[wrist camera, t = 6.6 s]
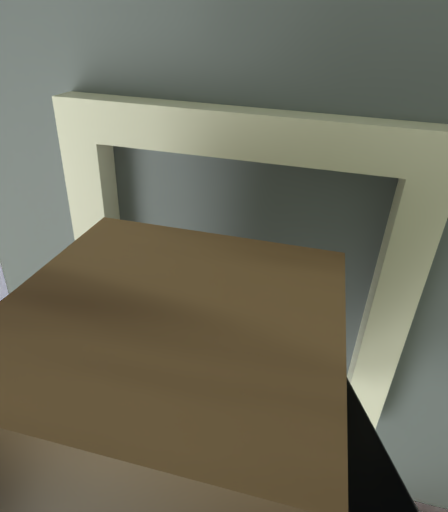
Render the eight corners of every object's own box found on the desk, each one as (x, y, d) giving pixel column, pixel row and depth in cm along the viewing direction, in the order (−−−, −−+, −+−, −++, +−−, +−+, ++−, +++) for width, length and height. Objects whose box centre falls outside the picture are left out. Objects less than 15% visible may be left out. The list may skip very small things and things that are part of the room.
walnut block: (307, 426, 10) (283, 706, 6) (123, 383, 11) (-9, 600, 7) (344, 252, 8) (347, 521, 4) (104, 217, 9) (-117, 396, 5)
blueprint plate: (446, 478, 15) (460, 535, 13) (55, 384, 18) (26, 421, 16) (737, -80, 7) (861, -112, 5) (-51, -79, 10) (-131, -100, 8)
